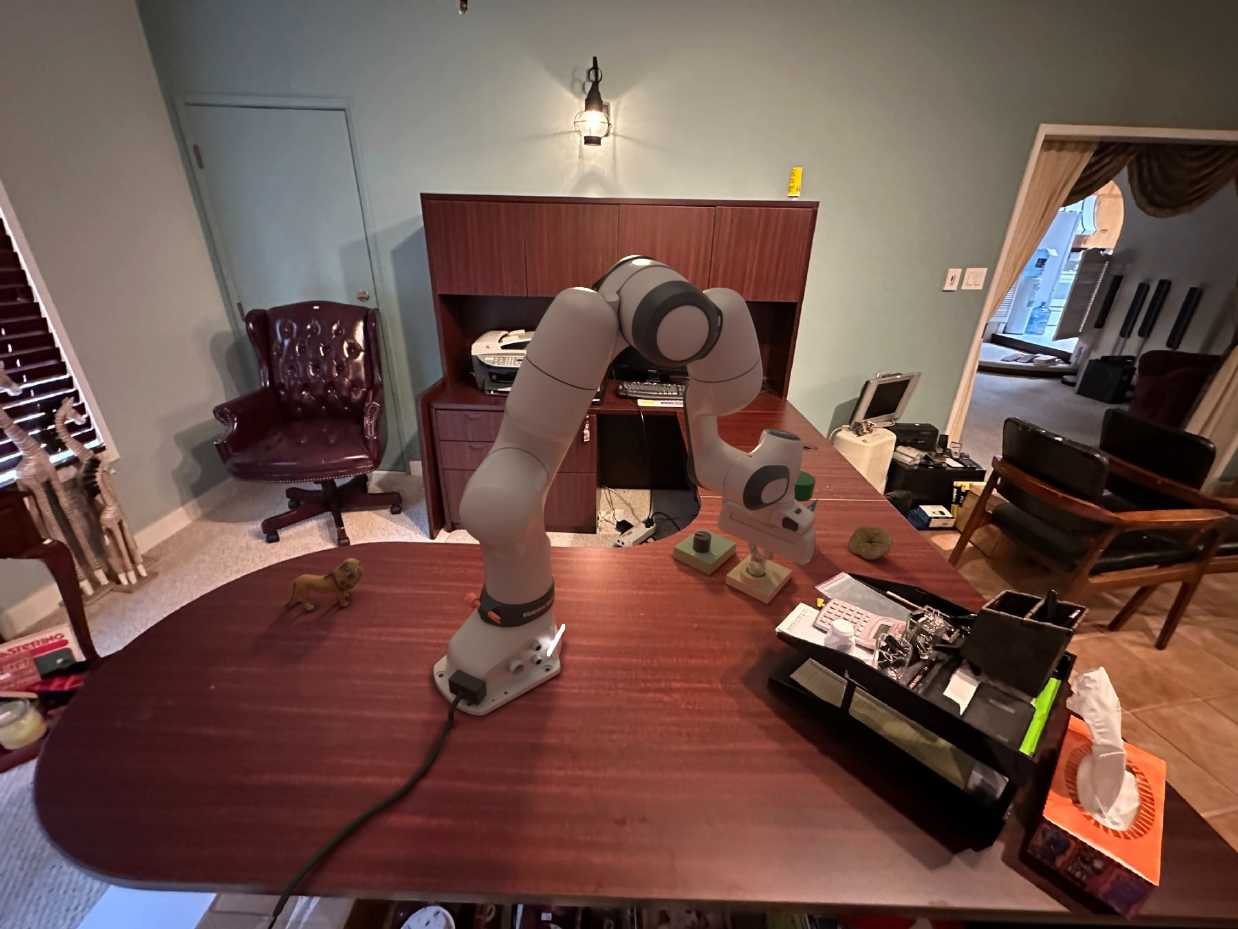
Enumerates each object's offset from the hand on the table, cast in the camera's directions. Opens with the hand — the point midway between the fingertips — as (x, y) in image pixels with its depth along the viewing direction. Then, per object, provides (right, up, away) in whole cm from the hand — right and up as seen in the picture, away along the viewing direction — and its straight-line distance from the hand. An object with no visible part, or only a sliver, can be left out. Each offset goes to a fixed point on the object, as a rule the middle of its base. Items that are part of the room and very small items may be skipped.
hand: (758, 562), depth 106 cm
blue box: (+14, +1, +19) cm, 23 cm away
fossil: (+31, -1, +16) cm, 35 cm away
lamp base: (+1, -5, +5) cm, 7 cm away
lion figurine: (-87, -6, -7) cm, 88 cm away
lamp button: (0, -2, +1) cm, 3 cm away
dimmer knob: (-11, +1, +10) cm, 15 cm away
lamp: (+7, +1, +9) cm, 12 cm away
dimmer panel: (-9, -1, +13) cm, 16 cm away
